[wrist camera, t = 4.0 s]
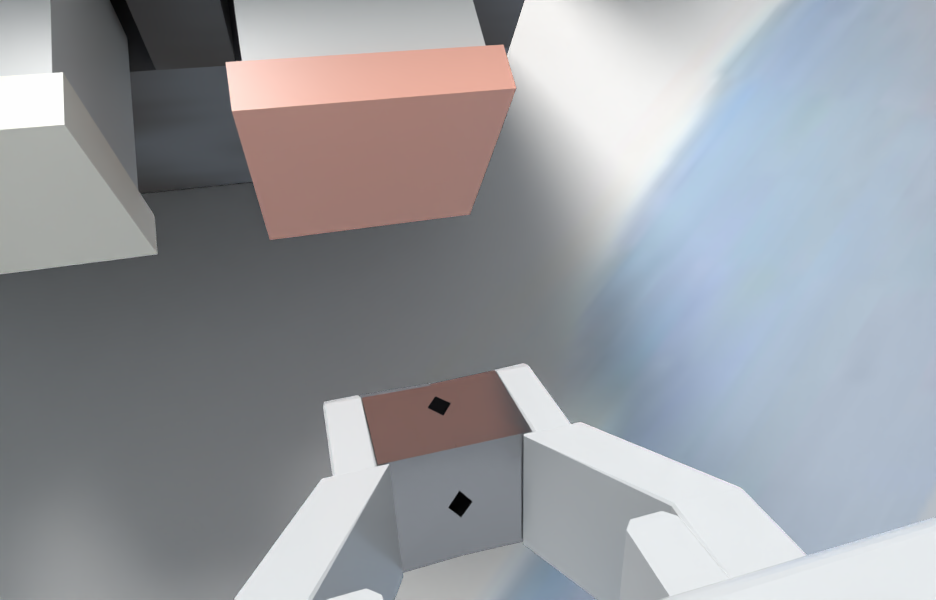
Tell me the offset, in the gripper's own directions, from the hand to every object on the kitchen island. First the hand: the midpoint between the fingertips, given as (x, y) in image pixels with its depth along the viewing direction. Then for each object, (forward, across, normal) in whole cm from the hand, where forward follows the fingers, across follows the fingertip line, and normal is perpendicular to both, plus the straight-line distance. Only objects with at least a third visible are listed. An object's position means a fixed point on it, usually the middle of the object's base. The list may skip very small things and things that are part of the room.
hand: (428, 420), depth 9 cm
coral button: (+6, 0, +3) cm, 7 cm away
